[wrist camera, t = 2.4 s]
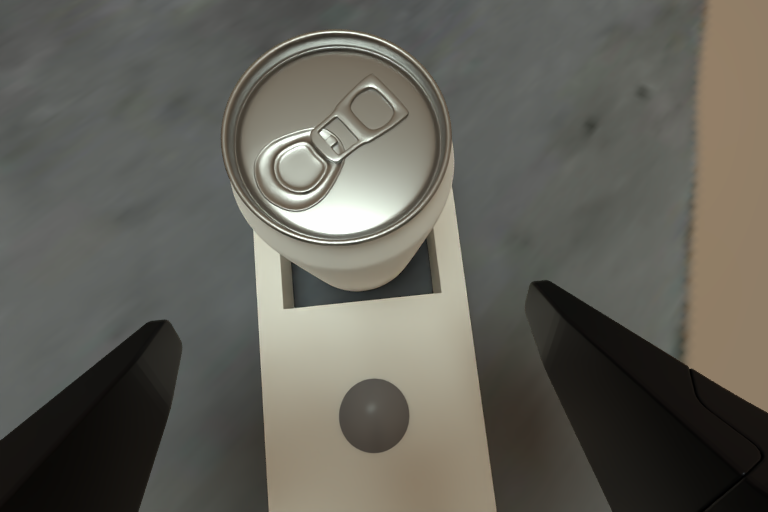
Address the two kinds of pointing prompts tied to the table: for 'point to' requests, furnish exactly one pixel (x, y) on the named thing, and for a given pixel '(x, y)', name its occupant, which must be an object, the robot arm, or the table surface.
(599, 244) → the table surface
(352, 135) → the can
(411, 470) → the control panel
